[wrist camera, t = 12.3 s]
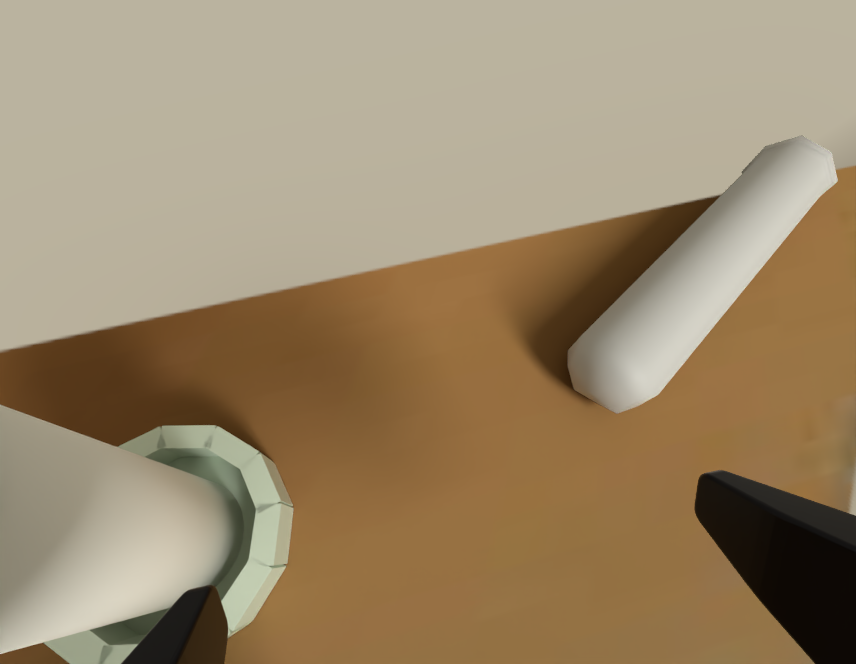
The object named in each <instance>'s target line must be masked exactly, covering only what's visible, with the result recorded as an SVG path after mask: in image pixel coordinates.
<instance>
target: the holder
mask: <svg viewBox="0 0 856 664" xmlns="http://www.w3.org/2000/svg"><path fill="white" fill-rule="evenodd" d="M118 448H121V449H124V450H126V451H129V452H132V453H135V454H137V455H140V456H143V457H146V458H148V459H151V460H154V461H157V462H160V463H162V464H165V465H168V466H171V467H173V468H176V469H179V470H182V471H184V472H187V473H190V474H193V475H195V476H198V477H201V478H204V479H206V480H209V481H212V482H215V483H217V484H220V485H221V486H223V487H225V488H226V489H227V490H229V491H230V492H231V493H232V494H233V496H234V497H235V498H236V500H237V501H238V503H239V505H240V508H241V511H242V514H243V520H244V534H243V541H242V545H241V548H240V551H239V554H238V556H237V558H236V560H235V563H234V564H233V566H232V567H231V569H230V571H229V572H228V573H227V575H226V576H225V577H224V578H223V579H222V581H221V582H220V583H219V584H218V585H217V586H215V587H216V588H217V590H218V593H219V596H220V599H221V602H222V605H223V608H224V612H225V615H226V618H227V622H228V638H229V637H230V636H232V635H233V634H235V633H236V632H238V631H239V630H241V629H242V628H244V627H245V626H247V625H248V624H250V622H252V621H253V620H254V618H255V616H256V615H257V613H258V612H259V610H260V608H261V607H262V605H263V603H264V602H265V600H266V599H267V597H268V595H269V594H270V592H271V591H272V589H273V587H274V586H275V584H276V582H277V581H278V579H279V578H280V576H281V574H282V573H283V571H284V569H285V568H286V566H285V565H284V564H287V563H288V554H289V545H290V536H291V527H292V519H293V510H294V508H292V506H293V504H292V502H291V500H290V497H289V495H288V493H287V490H286V488H285V486H284V484H283V481H282V479H281V477H280V475H279V472H278V470H277V468H276V465H275V463H274V462H273V461H272V460H270V459H269V458H267V457H266V456H265V455H263V454H262V453H261V452H259V451H258V450H256V449H254V448H253V447H251V446H250V445H248V444H246V443H245V442H243V441H241V440H240V439H238V438H237V437H235V436H233V435H232V434H230V433H228V432H227V431H225V430H224V429H222V428H220V427H219V426H216V425H192V426H162V427H160V426H159V427H157V428H155V429H153V430H151V431H149V432H147V433H145V434H143V435H141V436H139V437H137V438H134V439H132V440H130V441H128V442H126V443H124V444H122V445H120V446H118ZM169 609H170V608H168V609H164V610H160V611H157V612H153V613H149V614H146V615H142V616H138V617H135V618H131V619H127V620H124V621H120V622H116V623H113V624H109V625H105V626H102V627H98V628H94V629H90V630H87V631H83V632H79V633H76V634H72V635H68V636H65V637H61V638H57V639H54V640H50V641H46V642H43V643H44V644H45V645H47V646H48V647H49V648H51V649H52V650H53V651H54V652H56V653H57V654H58V655H59V656H61V657H62V658H63V659H65V660H66V661H67V662H68V663H70V664H121V663H122V662H123V661H124V660H125V658H126V657H127V656H128V655H129V654H130V653H131V652H132V651H133V649H134V648H135V647H136V646H137V645H138V644H139V643H140V641H141V640H142V639H143V638H144V637H145V636H146V635H147V634H148V632H149V631H150V630H151V629H152V628H153V627H154V626H155V625H156V623H157V622H158V621H159V620H160V619H161V618H162V617H163V616H164V614H165V613H166V612H167V611H168V610H169Z"/></svg>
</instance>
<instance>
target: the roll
mask: <svg viewBox="0 0 856 664" xmlns="http://www.w3.org/2000/svg"><path fill="white" fill-rule="evenodd" d="M243 534H244V520H243V514H242V511H241V508H240V505H239V503H238V501H237V500H236V498H235V497H234V496H233V494H232V493H231V492H230V491H229V490H227V489H226V488H225V487H223V486H221V485H220V484H217V483H215V482H212V481H209V480H206V479H204V478H201V477H198V476H195V475H193V474H190V473H187V472H184V471H182V470H179V469H176V468H173V467H171V466H168V465H165V464H162V463H160V462H157V461H154V460H151V459H148V458H146V457H143V456H140V455H137V454H135V453H132V452H129V451H126V450H124V449H121V448H118V447H115V446H113V445H110V444H107V443H104V442H102V441H99V440H96V439H93V438H91V437H88V436H85V435H82V434H80V433H77V432H74V431H71V430H69V429H66V428H63V427H60V426H58V425H55V424H52V423H49V422H46V421H44V420H41V419H38V418H35V417H33V416H30V415H27V414H24V413H22V412H19V411H16V410H13V409H11V408H8V407H5V406H2V405H0V654H2V653H6V652H10V651H13V650H17V649H21V648H24V647H28V646H32V645H35V644H39V643H43V642H46V641H50V640H54V639H57V638H61V637H65V636H68V635H72V634H76V633H79V632H83V631H87V630H90V629H94V628H98V627H102V626H105V625H109V624H113V623H116V622H120V621H124V620H127V619H131V618H135V617H138V616H142V615H146V614H149V613H153V612H157V611H160V610H164V609H168V608H171V607H172V605H173V604H174V603H175V602H176V601H177V600H178V599H179V597H180V596H181V595H182V594H183V593H184V592H186V591H187V590H189V589H193V588H197V587H202V586H206V585H214V586H217V585H218V584H219V583H220V582H221V581H222V579H223V578H224V577H225V576H226V575H227V573H228V572H229V571H230V569H231V567H232V566H233V564H234V563H235V560H236V558H237V556H238V554H239V551H240V548H241V545H242V541H243Z"/></svg>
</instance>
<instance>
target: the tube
mask: <svg viewBox="0 0 856 664" xmlns="http://www.w3.org/2000/svg"><path fill="white" fill-rule="evenodd" d="M837 181H838V180H837V175H836V171H835V166H834V162H833V157H832V153H831V152H830V151H828V150H827V149H825V148H823V147H821V146H820V145H818V144H816V143H814V142H812V141H811V140H809V139H807V138H805V137H804V136H798V137H795V138H792V139H788V140H785V141H782V142H778V143H775V144H772V145H768V146H765V147H764V149H763V150H762V151H761V152H760V153H759V154H758V155H757V156H756V157H755V158H754V159H753V160H752V162H750V163H749V165H748V166H747V167H746V168H745V169H744V170H743V171H742V175H741V176H740V177H739V178H738V179H737V180H736V181H735V182H734V183H733V184H732V185H731V186H730V187H729V188H728V189H727V190H726V191H725V192H724V193H723V194H722V195H721V196H720V197H719V198H718V199H717V200H716V201H715V202H714V203H713V204H712V205H711V206H710V207H709V208H708V209H707V210H706V211H705V212H704V213H703V214H702V215H701V216H700V217H699V218H698V219H697V220H696V221H695V222H694V223H693V224H692V225H691V226H690V227H689V228H688V229H687V230H686V231H685V232H684V233H683V234H682V235H681V236H680V237H679V238H678V239H677V240H676V241H675V242H674V243H673V244H672V245H671V246H670V247H669V248H668V249H667V250H666V251H665V252H664V253H663V254H662V255H661V256H660V257H659V258H658V259H657V260H656V261H655V262H654V263H653V264H652V265H651V266H650V267H649V268H648V269H647V270H646V271H645V272H644V273H643V274H642V275H641V276H640V277H639V278H638V279H637V280H636V281H635V282H634V283H633V284H632V285H631V286H630V287H629V288H628V289H627V290H626V291H625V292H624V293H623V294H622V295H621V296H620V297H619V298H618V299H617V300H616V301H615V302H614V303H613V304H612V305H611V306H610V307H609V308H608V309H607V310H606V311H605V312H604V313H603V314H602V315H601V316H600V317H599V318H598V319H597V320H596V321H595V322H594V323H593V324H592V325H591V326H590V327H589V328H588V329H587V330H586V331H585V332H584V333H583V334H582V335H581V336H580V337H579V339H578V340H577V341H576V342H575V343H574V344H573V345H572V346H571V347H570V349H569V350H568V369H569V373H570V377H571V381H572V384H573V388H574V390H575V391H577V392H579V393H580V394H582V395H584V396H585V397H587V398H589V399H591V400H592V401H594V402H596V403H597V404H599V405H601V406H603V407H605V408H607V409H609V410H611V411H613V412H615V413H620V412H623V411H626V410H629V409H631V408H634V407H637V406H639V405H641V404H643V403H644V402H646V401H648V400H650V399H651V398H653V397H655V396H657V395H658V394H659V393H660V392H661V390H662V389H663V388H664V387H665V386H666V384H667V383H668V382H669V381H670V379H671V378H672V377H673V376H674V375H675V373H676V372H677V371H678V370H679V368H680V367H681V366H682V365H683V364H684V362H685V361H686V360H687V359H688V357H689V356H690V355H691V354H692V352H693V351H694V350H695V349H696V348H697V346H698V345H699V344H700V343H701V341H702V340H703V339H704V338H705V337H706V335H707V334H708V333H709V332H710V330H711V329H712V328H713V327H714V325H715V324H716V323H717V322H718V321H719V319H720V318H721V317H722V316H723V314H724V313H725V312H726V311H727V310H728V308H729V307H730V306H731V305H732V303H733V302H734V301H735V300H736V299H737V297H738V296H739V295H740V294H741V292H742V291H743V290H744V289H745V287H746V286H747V285H748V284H749V283H750V281H751V280H752V279H753V278H754V276H755V275H756V274H757V273H758V272H759V270H760V269H761V268H762V267H763V265H764V264H765V263H766V262H767V261H768V259H769V258H770V257H771V256H772V254H773V253H774V252H775V251H776V249H777V248H778V247H779V246H780V245H781V243H782V242H783V241H784V240H785V238H786V237H787V236H788V235H789V234H790V232H791V231H792V230H793V229H794V227H795V226H796V225H797V224H798V222H799V221H800V220H801V219H802V218H803V216H804V215H805V214H806V213H807V211H808V210H809V209H810V208H811V207H812V205H813V204H814V203H815V202H816V200H817V199H818V198H819V197H820V196H821V195H822V194H823V193H824V192H826V191H827V190H828V189H829V188H831V187H832V186H833V185H834V184H835V183H836V182H837Z"/></svg>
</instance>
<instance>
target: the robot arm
mask: <svg viewBox="0 0 856 664" xmlns="http://www.w3.org/2000/svg"><path fill="white" fill-rule="evenodd" d="M695 513H696V516H697V518H698V520H699V521H700V523H701V524H702V525H703V527H704V528H705V529H706V531H707V532H708V533H709V535H710V536H711V537H712V539H713V540H714V541H715V543H716V544H717V545H718V547H719V548H720V549H721V551H722V552H723V553H724V555H725V556H726V557H727V559H728V560H729V561H730V563H731V564H732V565H733V567H734V568H735V569H736V570H737V572H738V573H739V574H740V576H741V577H742V578H743V580H744V581H745V582H746V584H747V585H748V586H749V588H750V589H751V590H752V591H753V593H754V594H755V595H756V596H757V598H758V599H759V600H760V601H761V602H762V604H763V605H764V606H765V607H766V608H767V610H768V611H769V612H770V613H771V614H772V615H773V616H774V618H775V619H776V620H777V621H778V622H779V623H780V624H781V626H782V627H783V628H784V629H785V630H786V631H787V632H788V634H789V635H790V636H791V637H792V638H793V639H794V640H795V641H796V643H797V644H798V645H799V646H800V647H801V648H802V649H803V651H804V652H805V653H806V654H807V655H808V656H809V657H810V659H811V660H812V661H813V662H814V663H815V664H856V516H855V515H852V514H849V513H846V512H843V511H840V510H837V509H835V508H832V507H829V506H826V505H823V504H820V503H817V502H814V501H811V500H808V499H805V498H803V497H800V496H797V495H794V494H791V493H788V492H785V491H782V490H779V489H776V488H773V487H771V486H768V485H765V484H762V483H759V482H756V481H753V480H750V479H747V478H744V477H741V476H739V475H736V474H733V473H730V472H727V471H723V470H717V471H713V472H708V473H704V474H702V475H701V476H700V477H699V480H698V485H697V492H696V499H695ZM227 639H228V622H227V618H226V615H225V612H224V608H223V605H222V602H221V599H220V596H219V593H218V590H217V588H216V587H215V586H214V585H206V586H202V587H197V588H193V589H189V590H187V591H186V592H184V593H183V594H182V595H181V596H180V597H179V599H178V600H177V601H176V602H175V603H174V604H173V605H172V607H171V608H170V609H169V610H168V611H167V612H166V613H165V614H164V616H163V617H162V618H161V619H160V620H159V621H158V622H157V623H156V625H155V626H154V627H153V628H152V629H151V630H150V631H149V632H148V634H147V635H146V636H145V637H144V638H143V639H142V640H141V641H140V643H139V644H138V645H137V646H136V647H135V648H134V649H133V651H132V652H131V653H130V654H129V655H128V656H127V657H126V658H125V660H124V661H123V662H122V663H121V664H224V661H225V654H226V646H227Z"/></svg>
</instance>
